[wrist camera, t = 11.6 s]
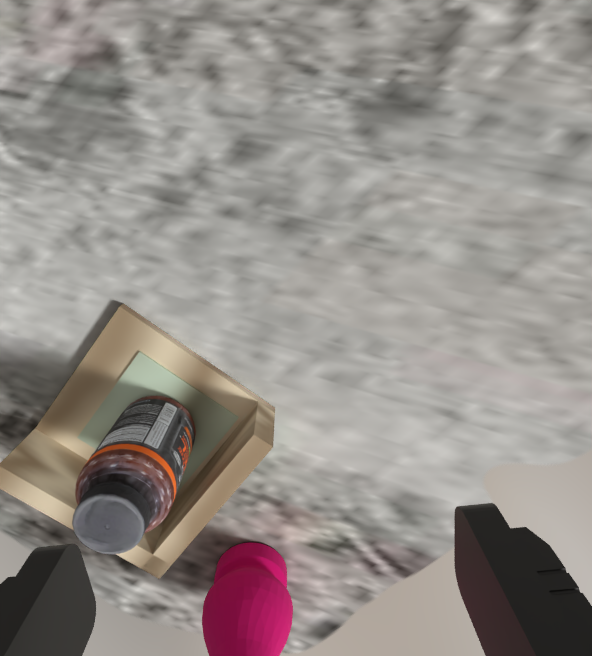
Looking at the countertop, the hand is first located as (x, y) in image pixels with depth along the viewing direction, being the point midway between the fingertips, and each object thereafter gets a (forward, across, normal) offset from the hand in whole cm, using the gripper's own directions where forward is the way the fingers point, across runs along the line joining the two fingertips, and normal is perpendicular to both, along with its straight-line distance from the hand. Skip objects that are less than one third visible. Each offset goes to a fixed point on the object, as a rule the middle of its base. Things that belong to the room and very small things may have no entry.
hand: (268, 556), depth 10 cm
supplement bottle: (+25, +11, +10) cm, 29 cm away
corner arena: (+26, +12, +10) cm, 30 cm away
